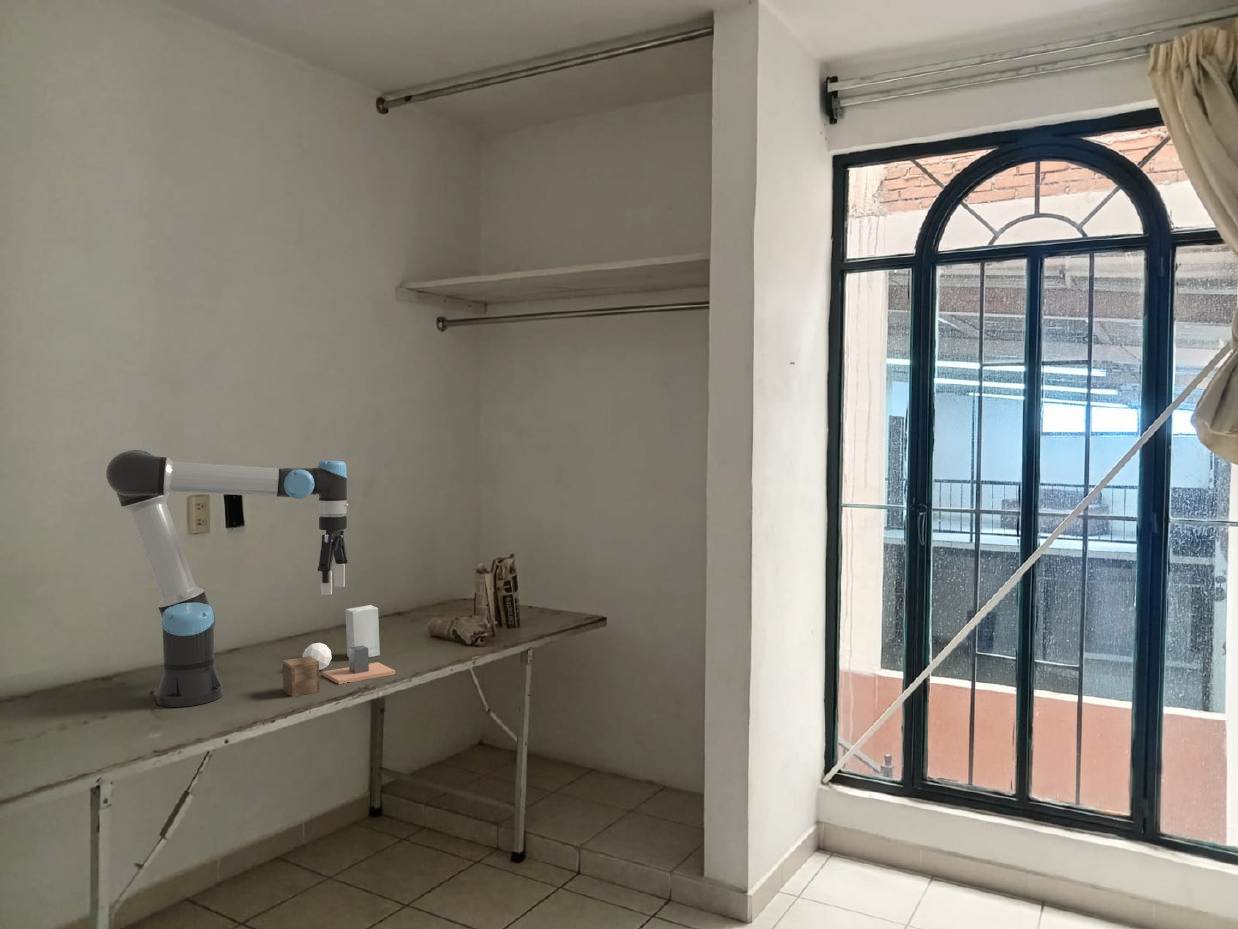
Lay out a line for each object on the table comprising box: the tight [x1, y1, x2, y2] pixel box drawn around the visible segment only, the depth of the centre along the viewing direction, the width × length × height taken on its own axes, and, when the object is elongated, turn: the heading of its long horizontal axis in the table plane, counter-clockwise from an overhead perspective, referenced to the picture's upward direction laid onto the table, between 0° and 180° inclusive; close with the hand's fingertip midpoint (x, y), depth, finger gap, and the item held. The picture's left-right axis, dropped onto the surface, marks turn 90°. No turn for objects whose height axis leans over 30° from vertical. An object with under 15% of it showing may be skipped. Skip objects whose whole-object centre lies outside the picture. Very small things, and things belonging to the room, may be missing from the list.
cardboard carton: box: [282, 656, 321, 698], centre depth 235 cm, size 7×7×8 cm
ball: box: [302, 642, 332, 671], centre depth 256 cm, size 8×8×8 cm
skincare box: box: [344, 604, 381, 658], centre depth 271 cm, size 8×6×15 cm
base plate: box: [322, 662, 396, 685], centre depth 251 cm, size 16×12×1 cm
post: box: [348, 645, 370, 674], centre depth 250 cm, size 4×4×6 cm
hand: (333, 590), depth 255 cm, fingers open, 13 cm apart
